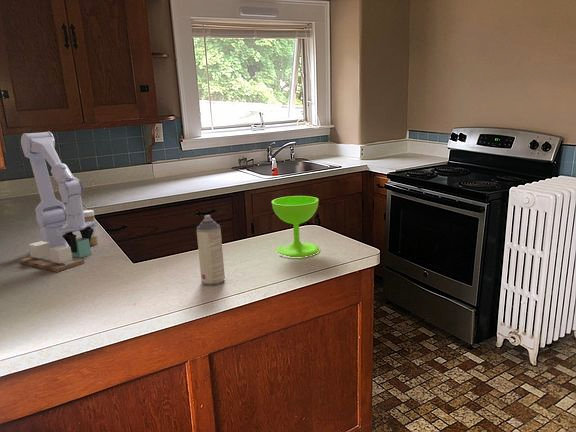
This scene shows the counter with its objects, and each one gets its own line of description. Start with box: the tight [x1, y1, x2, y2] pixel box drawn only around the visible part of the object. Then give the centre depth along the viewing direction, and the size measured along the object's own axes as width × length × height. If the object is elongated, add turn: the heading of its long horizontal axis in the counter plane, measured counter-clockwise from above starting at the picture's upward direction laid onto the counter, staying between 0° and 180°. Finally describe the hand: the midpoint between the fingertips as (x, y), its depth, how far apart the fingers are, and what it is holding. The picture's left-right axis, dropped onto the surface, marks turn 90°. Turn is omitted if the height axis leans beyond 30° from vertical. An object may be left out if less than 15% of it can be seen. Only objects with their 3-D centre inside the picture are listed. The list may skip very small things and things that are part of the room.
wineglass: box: [271, 195, 320, 257], centre depth 160 cm, size 16×16×18 cm
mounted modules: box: [28, 240, 72, 263], centre depth 161 cm, size 18×4×4 cm, turn 58°
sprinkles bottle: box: [83, 209, 99, 246], centre depth 181 cm, size 5×5×13 cm
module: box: [71, 236, 92, 259], centre depth 168 cm, size 5×4×6 cm
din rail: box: [29, 254, 74, 265], centre depth 162 cm, size 21×4×1 cm, turn 58°
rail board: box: [19, 256, 85, 273], centre depth 162 cm, size 22×10×1 cm, turn 58°
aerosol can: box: [196, 214, 226, 287], centre depth 135 cm, size 7×7×20 cm
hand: (80, 250), depth 169 cm, fingers closed on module, 4 cm apart
